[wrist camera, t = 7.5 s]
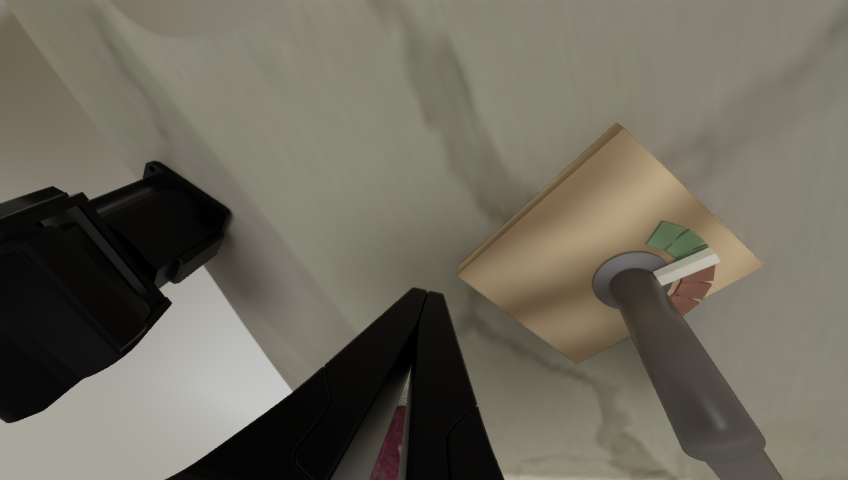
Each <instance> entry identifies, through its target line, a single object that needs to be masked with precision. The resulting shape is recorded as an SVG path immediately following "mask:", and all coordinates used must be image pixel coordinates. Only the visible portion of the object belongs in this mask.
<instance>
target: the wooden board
mask: <svg viewBox="0 0 848 480" xmlns="http://www.w3.org/2000/svg"><path fill="white" fill-rule="evenodd" d="M709 247H710V248H711V249H712V250H713V251H714V252H715V253H716V255H717V256H718V258H719V259H720V261H721V262H719V263H717V264H715V265H712V266H710V267H707V268H705V269H702V270H700V271H697V272H695V273H693V274H690V275H688V276H685V277H683V278H680V279H678V280H676V281H673V282H671V283H668V284H666V285H663V286H662V287H663V288H664V289H665V291H666V292H667V294H668V295H669V297H670V298H671V300H672V301H673V303H674V304H675V306H676V307H677V309H678V310H679V312H680V313H681V315H685V314H686V313H688V312H689V311H690V310H691V309H693V308H694V307H695V306H696V305H698V304H699V303H698V301H699V300H703V298H705V297H707V296H709V295H711V294H713V293H714V292H716V291H718V290H720V289H722V288H724V287H726V286H728V285H730V284H732V283H734V282H736V281H738V280H740V279H741V278H743V277H745V276H747V275H749V274H751V273H753V272H755V271H757V270H759V269H761V268H763V267H765V265H764V264H763V263H762V262H761V261H760V260H759V259H758V258H757V257H756V256H755V255H754V254H753V253H752V252H751V251H750V250H749V249H748V248H747V247H746V246H745V245H743V244H742V243H741V242H740V241H739V240H738V239H737V238H736V237H735V236H734V235H733V234H732V233H731V232H730V231H729V230H728V229H727V228H726V227H725V226H724V225H723V224H722V223H721V222H720V221H719V220H718V219H717V218H716V217H715V216H714V215H713V214H712V213H711V212H710V211H709V210H708V209H707V208H706V207H705V206H704V205H703V204H702V203H701V202H699V201H698V200H697V199H696V198H695V197H694V196H693V195H692V194H691V193H690V192H689V191H688V190H687V189H686V188H685V187H684V186H683V185H682V184H681V183H680V182H679V181H678V180H677V179H676V178H675V177H674V176H673V175H672V174H671V173H670V172H669V171H668V170H667V169H666V168H665V167H664V166H663V165H662V164H661V163H660V162H659V161H658V160H656V159H655V158H654V157H653V156H652V155H651V154H650V153H649V152H648V151H647V150H646V149H645V148H644V147H643V146H642V145H641V144H640V143H639V142H638V141H637V140H636V139H635V138H634V137H633V136H632V135H631V134H630V133H629V132H628V131H627V130H626V129H625V128H624V127H622V126H621V125H619V124H618V123H616V124H615V125H614V126H613V127H612V128H611V129H609V130H608V131H607V132H606V133H605V134H604V135H603V136H602V137H601V138H599V139H598V140H597V141H596V142H595V143H594V144H593V145H592V146H591V147H589V148H588V149H587V150H586V151H585V152H584V153H583V154H582V155H581V156H580V157H578V158H577V159H576V160H575V161H574V162H573V163H572V164H571V165H570V166H568V167H567V168H566V169H565V170H564V171H563V172H562V173H561V174H560V175H558V176H557V177H556V178H555V179H554V180H553V181H552V182H551V183H550V184H549V185H547V186H546V187H545V188H544V189H543V190H542V191H541V192H540V193H539V194H537V195H536V196H535V197H534V198H533V199H532V200H531V201H530V202H529V203H528V204H526V205H525V206H524V207H523V208H522V209H521V210H520V211H519V212H518V213H516V214H515V215H514V216H513V217H512V218H511V219H510V220H509V221H508V222H506V223H505V224H504V225H503V226H502V227H501V228H500V229H499V230H498V231H497V232H495V233H494V234H493V235H492V236H491V237H490V238H489V239H488V240H487V241H485V242H484V243H483V244H482V245H481V246H480V247H479V248H478V249H477V250H476V251H474V252H473V253H472V254H471V255H470V256H469V257H468V258H467V259H466V260H464V261H463V262H462V263H461V264H460V265H459V266H458V272H457V276H458V277H459V278H461V279H462V280H463V281H465V282H466V283H467V284H469V285H470V286H471V287H473V288H474V289H476V290H477V291H478V292H480V293H481V294H482V295H484V296H485V297H486V298H488V299H489V300H490V301H492V302H493V303H494V304H496V305H497V306H498V307H500V308H501V309H502V310H504V311H505V312H506V313H508V314H509V315H511V316H512V317H513V318H515V319H516V320H517V321H519V322H520V323H521V324H523V325H524V326H525V327H527V328H528V329H529V330H531V331H532V332H533V333H535V334H536V335H537V336H539V337H540V338H541V339H543V340H544V341H546V342H547V343H548V344H550V345H551V346H552V347H554V348H555V349H556V350H558V351H559V352H560V353H562V354H563V355H564V356H566V357H567V358H568V359H570V360H571V361H572V362H574V363H575V364H577V363H579V362H581V361H583V360H585V359H587V358H589V357H591V356H593V355H595V354H597V353H599V352H601V351H603V350H604V349H606V348H608V347H610V346H612V345H614V344H616V343H618V342H620V341H622V340H624V339H626V338H628V337H630V336H631V335H630V333H629V331H628V329H627V326H626V324H625V322H624V320H623V318H622V316H621V313H620V311H619V309H618V307H617V305H616V302H615V300H614V298H613V296H612V294H611V291H610V283H611V281H612V279H613V278H614V277H615V276H616V275H617V274H619V273H620V272H622V271H625V270H628V269H633V268H641V269H646V270H648V271H650V272H652V273H653V272H654V271H656V270H658V269H661V268H663V267H665V266H667V265H670V264H672V263H674V262H677V261H679V260H681V259H684V258H686V257H688V256H690V255H693V254H695V253H697V252H700V251H702V250H704V249H706V248H709ZM653 274H654V273H653ZM660 284H661V283H660Z"/></svg>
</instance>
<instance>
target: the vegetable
mask: <svg viewBox="0 0 848 480" xmlns="http://www.w3.org/2000/svg"><path fill="white" fill-rule="evenodd" d="M405 412H406V407H405V406H398V407H396V410H395V413H394V415H393V418H392V421H391V423H390V426H389V428H388V431H387V434H386V436H385V439H384V442H383V444H382V447H381V449H380V452H379V455H378V457H377V460H376V463H375V465H374V468H373V470H372V473H371V476H370V478H369V480H398V472H399V463H400V455H401V446H402V438H403V429H404V421H405Z"/></svg>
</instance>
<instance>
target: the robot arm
mask: <svg viewBox="0 0 848 480" xmlns="http://www.w3.org/2000/svg"><path fill="white" fill-rule="evenodd" d="M229 217H230V213H229V211H228V210H227V209H226V208H225V207H223V206H222V205H221V204H219V203H218V202H216V201H215V200H213V199H212V198H210V197H209V196H207V195H206V194H204V193H203V192H201V191H200V190H198V189H197V188H195V187H194V186H192V185H191V184H189V183H188V182H187V181H185V180H184V179H182V178H181V177H179V176H178V175H176V174H175V173H173V172H172V171H170V170H169V169H167V168H166V167H164V166H163V165H161V164H160V163H158V162H157V161H151V162H148V163H146V165H145V170H144V175H143V179H142V180H139V181H137V182H134V183H131V184H129V185H127V186H124V187H121V188H119V189H117V190H114V191H111V192H109V193H106V194H104V195H101V196H99V197H96V198H94V199H91V200H89V199H88V198H87V197H86V195H85V194H84V193H83V192H80V193H76V194H73V195H68V194H67V193H66V192H63V191H61V190H59V189H57V188H55V187H54V186H51V187H48V188H44V189H41V190H39V191H35V192H32V193H29V194H26V195H23V196H20V197H18V198H15V199H11V200H8V201H6V202H3V203H0V419H1V420H3V421H4V422H6V423H12V422H16V421H19V420H21V419H24V418H27V417H29V416H32V415H34V414H37V413H39V412H41V411H43V410H45V409H46V408H48V407H49V406H50V405H51V404H52V403H54V402H55V401H56V400H57V399H59V398H60V397H61V396H62V395H63V394H64V393H66V392H67V391H68V390H69V389H71V388H72V387H73V386H75V385H76V384H77V383H78V382H80V381H81V380H82V379H84V378H86V377H89V376H92V375H94V374H96V373H98V372H100V371H102V370H104V369H106V368H108V367H109V366H110V365H112V364H114V363H116V362H117V361H118V360H120V359H121V358H122V357H124V356H125V355H126V354H127V353H129V352H130V351H131V350H132V349H133V348H134V347H135V346H136V345H137V344H138V343H139V342H140V340H141V339H142V338H143V337H144V336H145V335H146V334H147V332H148V331H149V330H150V329H151V328H152V326H153V325H154V324H155V323H156V322H157V321H158V320H159V318H160V317H161V316H162V315H163V314H164V312H165V311H166V310H167V309H168V308H169V307H170V306H171V304H172V302H171V301H170V300H169V299H168V297H165V296H164V295H163V294H162V292H161V291H160V290H159V288H161V287H162V286H164V285H165V284H166V283H168V282H169V281H170V282H172V283H173V284H176V283H180V282H181V281H182V280H184V279H185V278H186V277H188V276H189V275H190V274H192V273H193V272H194V271H195V270H197V269H198V268H199V267H201V266H202V265H203V264H205V263H206V262H208V261H209V260H210V259H211V258H212V257H214V256H215V255H216V254H217V251H218V249H219V247H220V245H221V242H222V240H223V238H224V234H223V230H224V228H225V226H226V223H227V221H228V219H229ZM410 369H411V372H410ZM409 373H410V379H409V387H408V395H407V404H406V412H405V421H404V429H403V438H402V446H401V455H400V463H399V472H398V480H504V477H503V475H502V472H501V470H500V467H499V465H498V462H497V460H496V458H495V455H494V453H493V450H492V447H491V444H490V442H489V439H488V436H487V433H486V430H485V427H484V424H483V421H482V417H481V414H480V411H479V408H478V407H477V402H476V398H475V395H474V392H473V389H472V385H471V382H470V379H469V376H468V372H467V369H466V366H465V363H464V359H463V356H462V353H461V349H460V346H459V343H458V340H457V336H456V333H455V330H454V327H453V323H452V320H451V317H450V314H449V310H448V307H447V304H446V300H445V297H444V295H443V294H442V293H438V292H433V291H429V292H427V290H424V289H420V288H416V287H413V288H411V289H410V290H409V291H408V292H407V293H406V294H405V295H403V296H402V297H401V298H400V299H399V300H398V301H397V302H395V303H394V304H393V305H392V306H391V307H390V308H389V309H388V310H386V311H385V312H384V313H383V314H382V315H381V316H380V317H378V318H377V319H376V320H375V321H374V322H373V323H372V324H370V325H369V326H368V327H367V328H366V329H365V330H364V331H363V332H361V333H360V334H359V335H358V336H357V337H356V338H355V339H353V340H352V341H351V342H350V343H349V344H348V345H347V346H346V347H344V348H343V349H342V350H341V351H340V352H339V353H338V354H336V355H335V356H334V357H333V358H332V359H331V360H330V361H329V362H327V363H326V364H325V367H321V368H320V369H319V370H318V371H317V372H316V373H315V374H314V375H312V376H311V377H310V378H309V379H308V380H307V381H305V382H304V383H303V384H302V385H301V386H299V387H298V388H297V389H296V390H295V391H293V392H292V393H291V394H290V395H289V396H287V397H286V398H284V399H283V400H282V401H280V402H279V403H278V404H276V405H275V406H274V407H272V408H271V409H270V410H268V411H267V412H266V413H264V414H263V415H261V416H260V417H259V418H257V419H256V420H255V421H253V422H252V423H250V424H249V425H248V426H246V427H245V428H243V429H242V430H241V431H239V432H238V433H236V434H235V435H234V436H232V437H231V438H230V439H228V440H227V441H225V442H224V443H223V444H221V445H220V446H218V447H217V448H215V449H214V450H213V451H211V452H210V453H208V454H207V455H206V456H204V457H203V458H201V459H200V460H198V461H197V462H195V463H194V464H192V465H191V466H189V467H187V468H186V469H184V470H182V471H181V472H179V473H177V474H175V475H173V476H171V477H169V478H167V479H165V480H369V478H370V476H371V473H372V470H373V468H374V465H375V463H376V460H377V457H378V455H379V452H380V449H381V447H382V444H383V442H384V439H385V436H386V434H387V431H388V428H389V426H390V423H391V421H392V418H393V415H394V413H395V410H396V407H397V405H398V402H399V400H400V397H401V394H402V392H403V389H404V386H405V384H406V381H407V378H408V375H409Z"/></svg>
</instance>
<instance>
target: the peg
mask: <svg viewBox="0 0 848 480" xmlns="http://www.w3.org/2000/svg"><path fill="white" fill-rule="evenodd" d="M719 262H721V261H720V259H719V258H718V256H717V255H716V253H715V252H714V251H713V250H712V249H711V248H710V247H709V248H706V249H704V250H702V251H700V252H697V253H695V254H693V255H690V256H688V257H686V258H684V259H681V260H679V261H677V262H674V263H672V264H670V265H667V266H665V267H663V268H661V269H658V270H656V271H654V272H653V273H654V274H653V273H652V272H650V271H648V270H646V269H641V268H633V269H628V270H625V271H622V272H620V273H619V274H617V275H616V276H615V277H614V278H613V279H612V281H611V283H610V291H611V294H612V296H613V298H614V300H615V302H616V305H617V307H618V309H619V311H620V313H621V316H622V318H623V320H624V322H625V324H626V326H627V329H628V331H629V333H630V335H631V337H632V340H633V342H634V344H635V346H636V348H637V351H638V353H639V355H640V357H641V359H642V362H643V364H644V366H645V368H646V370H647V373H648V375H649V377H650V379H651V381H652V384H653V386H654V388H655V390H656V392H657V395H658V397H659V399H660V401H661V403H662V406H663V408H664V410H665V412H666V414H667V417H668V419H669V421H670V423H671V425H672V428H673V430H674V432H675V434H676V436H677V439H678V441H679V443H680V445H681V447H682V449H683V451H684V452H685V453H686V454H687V455H689V456H690V457H692V458H695V459H697V460H701V461H705V462H706V463H707V464H708V465H709V467H710V468H711V469H712V470H713V471H714V473H715V474H716V475H717V476H718V477H719V479H720V480H783V478H782V477H781V475H780V474H779V472H778V471H777V469H776V468H775V466H774V465H773V463H772V461H771V460H770V458H769V457H768V455H767V454H766V452H765V451H764V447H765V445H766V441H765V438H764V436H763V435H762V433H761V432H760V430H759V429H758V427H757V426H756V424H755V423H754V422H753V420H752V419H751V417H750V416H749V414H748V413H747V411H746V410H745V408H744V407H743V405H742V404H741V402H740V401H739V399H738V398H737V396H736V395H735V393H734V392H733V390H732V389H731V387H730V386H729V384H728V383H727V381H726V380H725V379H724V377H723V376H722V374H721V373H720V371H719V370H718V368H717V367H716V365H715V364H714V362H713V361H712V359H711V358H710V356H709V355H708V353H707V352H706V350H705V349H704V347H703V346H702V344H701V343H700V341H699V340H698V338H697V337H696V335H695V334H694V333H693V331H692V330H691V328H690V327H689V325H688V324H687V322H686V321H685V319H684V318H683V316H682V315H681V313H680V312H679V310H678V309H677V307H676V306H675V304H674V303H673V301H672V300H671V298H670V297H669V295H668V294H667V292H666V291H665V289H664V288H663V287H662V286H663V285H666V284H668V283H671V282H673V281H676V280H678V279H680V278H683V277H685V276H688V275H690V274H693V273H695V272H697V271H700V270H702V269H705V268H707V267H710V266H712V265H715V264H717V263H719ZM660 283H661V284H660Z"/></svg>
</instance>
